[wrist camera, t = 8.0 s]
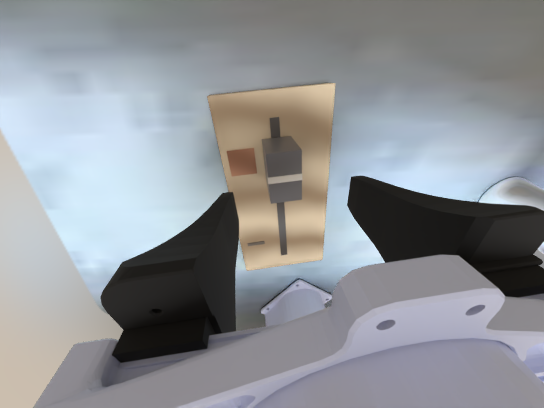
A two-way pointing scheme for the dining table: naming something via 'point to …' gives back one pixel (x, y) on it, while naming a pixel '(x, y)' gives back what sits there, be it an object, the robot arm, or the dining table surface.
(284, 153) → the fader knob
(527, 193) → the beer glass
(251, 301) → the dining table surface
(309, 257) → the fader board
